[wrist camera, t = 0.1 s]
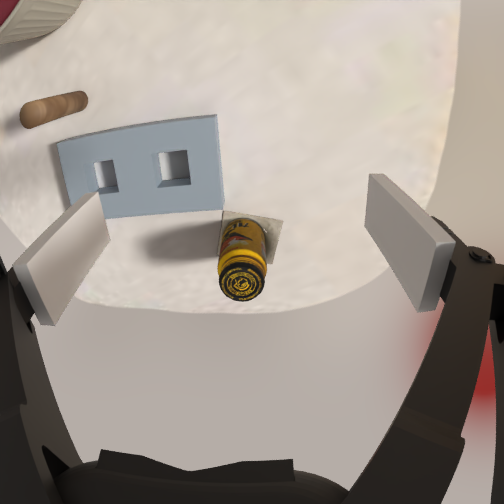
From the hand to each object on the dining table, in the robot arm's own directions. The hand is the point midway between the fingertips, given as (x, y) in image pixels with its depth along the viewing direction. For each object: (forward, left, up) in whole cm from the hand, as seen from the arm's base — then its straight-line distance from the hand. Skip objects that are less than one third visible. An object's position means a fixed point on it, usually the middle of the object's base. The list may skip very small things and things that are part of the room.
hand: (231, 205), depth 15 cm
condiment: (+17, 0, -28) cm, 33 cm away
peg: (-6, -22, -28) cm, 36 cm away
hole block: (+5, -14, -28) cm, 32 cm away
